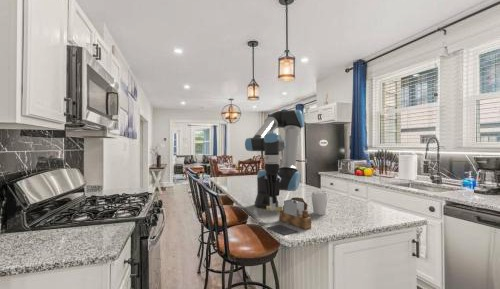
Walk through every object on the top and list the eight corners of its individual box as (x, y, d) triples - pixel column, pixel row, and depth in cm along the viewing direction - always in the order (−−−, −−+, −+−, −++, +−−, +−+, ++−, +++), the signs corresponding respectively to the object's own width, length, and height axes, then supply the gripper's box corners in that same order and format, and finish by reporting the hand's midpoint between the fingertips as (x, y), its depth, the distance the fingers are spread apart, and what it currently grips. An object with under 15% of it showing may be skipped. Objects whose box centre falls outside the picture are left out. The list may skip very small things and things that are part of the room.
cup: (326, 211, 154) (326, 191, 154) (329, 215, 145) (329, 193, 145) (310, 211, 155) (310, 190, 155) (312, 215, 146) (312, 193, 146)
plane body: (279, 220, 136) (279, 205, 136) (284, 219, 138) (284, 203, 138) (305, 229, 121) (305, 212, 121) (311, 228, 124) (311, 211, 124)
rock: (284, 212, 151) (284, 195, 151) (303, 212, 152) (303, 195, 152) (290, 219, 138) (290, 200, 138) (310, 219, 138) (310, 200, 138)
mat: (267, 228, 124) (267, 227, 124) (279, 225, 128) (279, 224, 128) (284, 235, 114) (284, 234, 114) (297, 231, 118) (297, 230, 118)
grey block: (283, 212, 132) (283, 199, 132) (291, 211, 135) (291, 198, 135) (296, 216, 125) (296, 202, 125) (304, 214, 128) (304, 201, 128)
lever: (266, 209, 137) (266, 205, 137) (282, 209, 137) (282, 205, 137) (266, 210, 135) (266, 206, 135) (282, 210, 135) (282, 206, 135)
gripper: (258, 163, 137) (259, 208, 137) (274, 164, 127) (275, 213, 127) (269, 162, 142) (270, 206, 141) (286, 163, 131) (286, 210, 131)
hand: (272, 209), depth 134 cm, fingers closed
